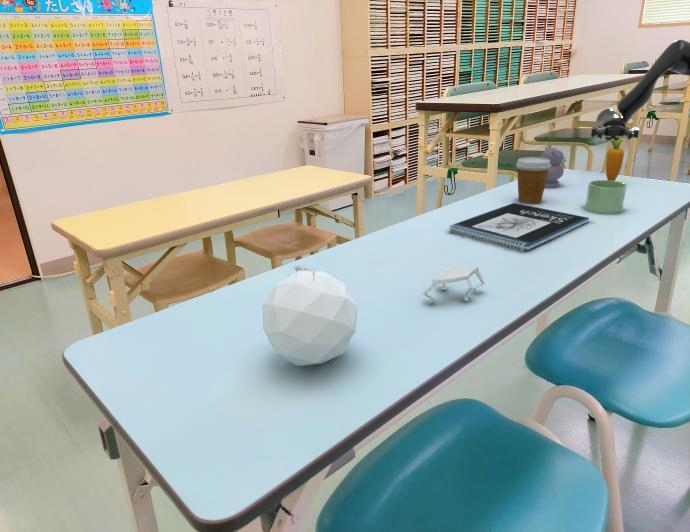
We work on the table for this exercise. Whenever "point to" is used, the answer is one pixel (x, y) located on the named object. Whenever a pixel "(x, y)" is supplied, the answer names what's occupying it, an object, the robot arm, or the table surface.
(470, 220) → the sketchbook
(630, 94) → the robot arm
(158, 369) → the table surface
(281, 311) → the geodesic sphere
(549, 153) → the cat figurine
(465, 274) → the white legged piece
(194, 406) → the table surface
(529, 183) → the disposable coffee cup
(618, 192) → the green cup
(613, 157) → the carrot
